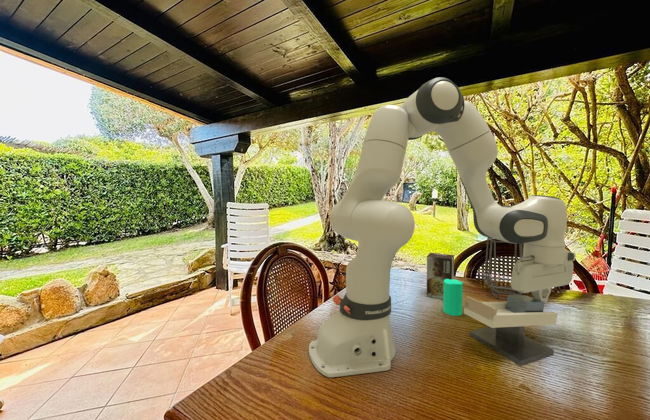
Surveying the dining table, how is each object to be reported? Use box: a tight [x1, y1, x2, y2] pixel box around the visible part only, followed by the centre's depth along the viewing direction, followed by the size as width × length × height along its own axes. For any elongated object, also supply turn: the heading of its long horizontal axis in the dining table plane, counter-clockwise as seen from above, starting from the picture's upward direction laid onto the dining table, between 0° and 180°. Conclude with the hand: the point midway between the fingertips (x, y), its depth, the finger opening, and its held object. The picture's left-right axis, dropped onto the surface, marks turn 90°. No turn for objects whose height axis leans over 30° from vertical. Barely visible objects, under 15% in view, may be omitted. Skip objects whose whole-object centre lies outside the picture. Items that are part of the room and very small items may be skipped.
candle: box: [442, 276, 464, 317], centre depth 90 cm, size 6×6×12 cm
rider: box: [506, 294, 546, 313], centre depth 72 cm, size 7×5×4 cm
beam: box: [463, 296, 559, 328], centre depth 70 cm, size 24×8×4 cm, turn 110°
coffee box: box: [426, 252, 455, 300], centre depth 103 cm, size 9×6×16 cm
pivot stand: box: [469, 325, 555, 367], centre depth 71 cm, size 12×14×6 cm
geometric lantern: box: [483, 205, 524, 300], centre depth 102 cm, size 16×16×35 cm
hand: (540, 303), depth 74 cm, fingers closed
